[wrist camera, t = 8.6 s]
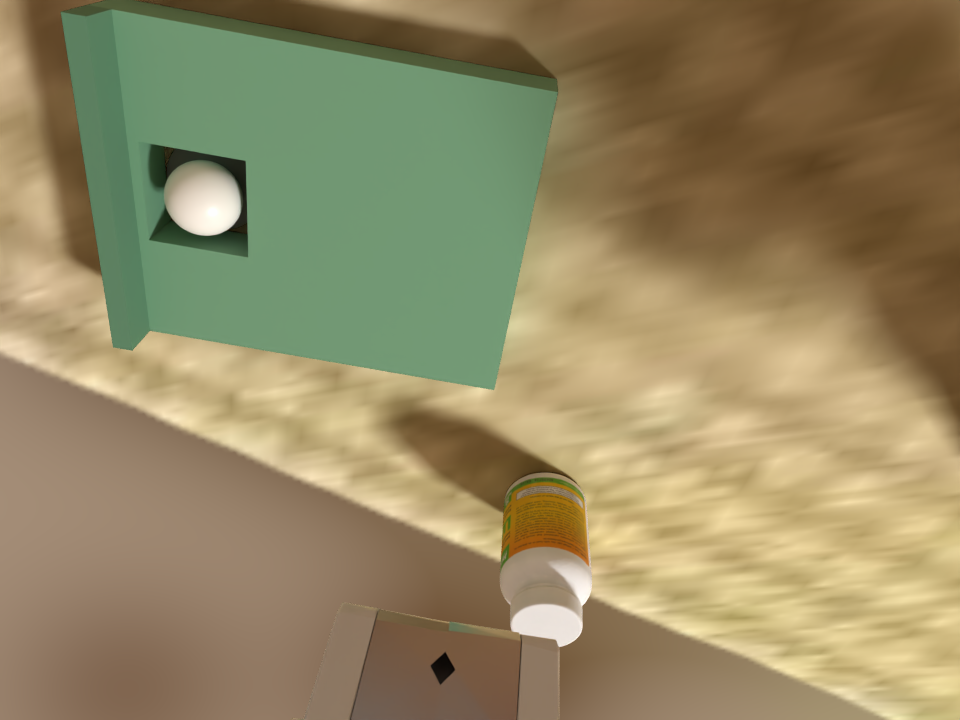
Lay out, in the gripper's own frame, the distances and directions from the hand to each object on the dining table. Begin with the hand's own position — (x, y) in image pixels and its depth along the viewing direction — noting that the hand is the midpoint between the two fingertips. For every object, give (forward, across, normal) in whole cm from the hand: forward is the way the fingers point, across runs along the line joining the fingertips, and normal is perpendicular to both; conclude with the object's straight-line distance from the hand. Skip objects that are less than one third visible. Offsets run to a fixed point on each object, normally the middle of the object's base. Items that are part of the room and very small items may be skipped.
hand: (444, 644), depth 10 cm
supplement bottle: (+28, -6, +24) cm, 38 cm away
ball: (+26, +15, +6) cm, 30 cm away
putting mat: (+28, +9, +6) cm, 30 cm away
